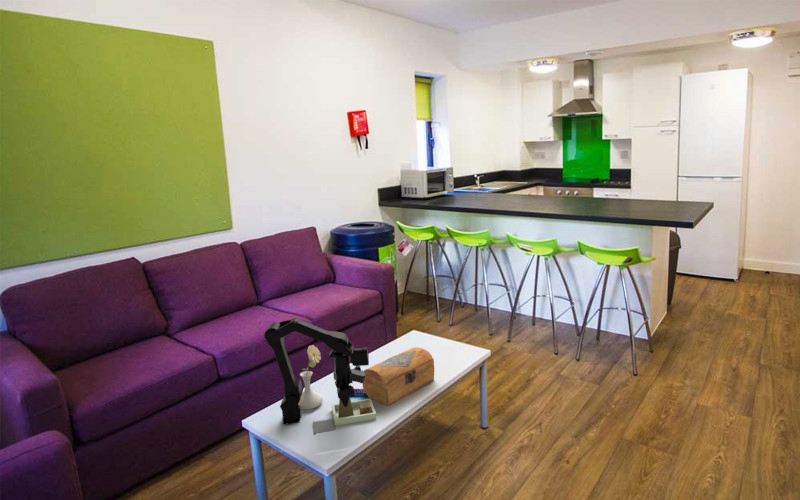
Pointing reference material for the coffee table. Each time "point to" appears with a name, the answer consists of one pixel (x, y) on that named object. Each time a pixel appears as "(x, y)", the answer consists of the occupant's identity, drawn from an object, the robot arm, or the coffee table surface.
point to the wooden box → (399, 375)
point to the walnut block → (365, 408)
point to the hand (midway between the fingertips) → (345, 403)
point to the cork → (345, 409)
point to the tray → (356, 411)
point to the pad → (324, 426)
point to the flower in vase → (309, 396)
